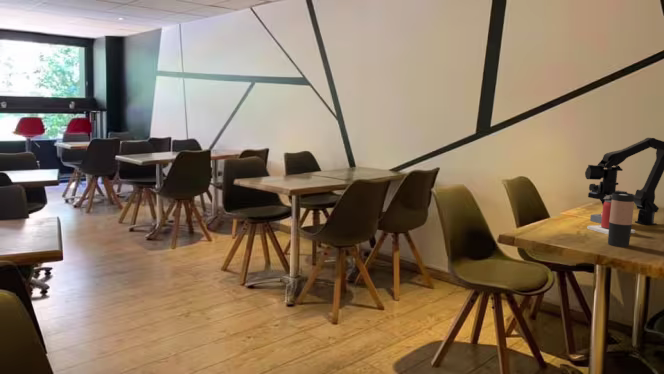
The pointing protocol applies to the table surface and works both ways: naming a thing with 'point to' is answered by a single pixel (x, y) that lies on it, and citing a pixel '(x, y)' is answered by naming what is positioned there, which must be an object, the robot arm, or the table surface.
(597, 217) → the grey square frame
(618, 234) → the travel mug
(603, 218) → the beer can
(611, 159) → the robot arm
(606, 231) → the paper card
